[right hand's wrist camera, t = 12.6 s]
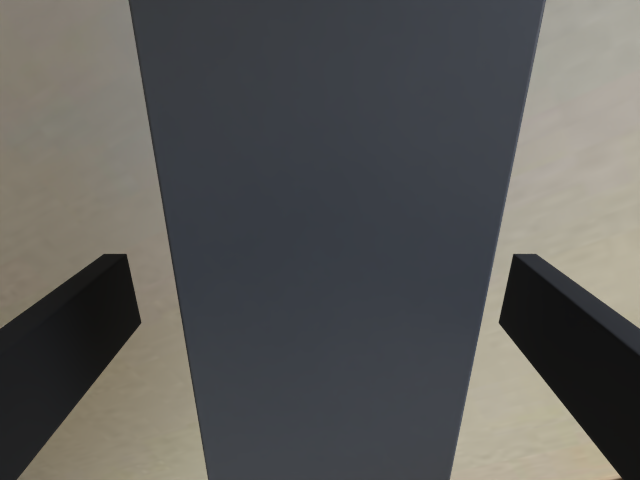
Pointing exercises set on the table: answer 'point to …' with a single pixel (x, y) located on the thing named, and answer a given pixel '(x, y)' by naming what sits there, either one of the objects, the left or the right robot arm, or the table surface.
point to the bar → (333, 218)
